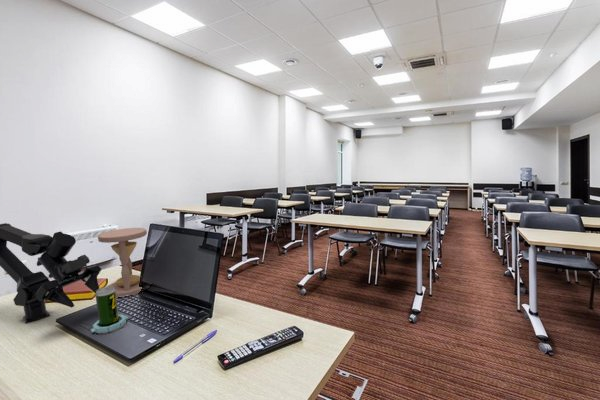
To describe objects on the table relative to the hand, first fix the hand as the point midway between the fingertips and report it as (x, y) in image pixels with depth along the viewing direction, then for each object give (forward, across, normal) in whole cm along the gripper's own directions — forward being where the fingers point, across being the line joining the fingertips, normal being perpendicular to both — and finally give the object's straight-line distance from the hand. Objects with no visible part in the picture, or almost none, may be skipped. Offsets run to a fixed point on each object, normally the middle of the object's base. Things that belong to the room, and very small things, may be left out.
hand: (87, 300), depth 99 cm
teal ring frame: (+12, 0, 0) cm, 12 cm away
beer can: (+12, 0, 0) cm, 12 cm away
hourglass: (-1, +26, +13) cm, 29 cm away
